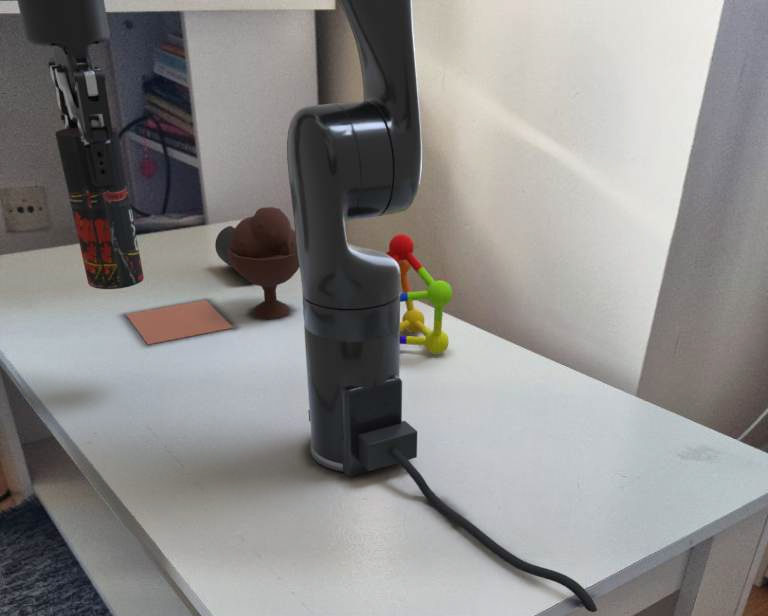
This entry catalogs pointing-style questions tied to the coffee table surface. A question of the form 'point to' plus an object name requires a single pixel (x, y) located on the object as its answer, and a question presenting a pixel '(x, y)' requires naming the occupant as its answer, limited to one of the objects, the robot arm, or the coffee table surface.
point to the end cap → (224, 243)
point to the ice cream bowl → (265, 256)
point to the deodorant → (101, 215)
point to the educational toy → (420, 298)
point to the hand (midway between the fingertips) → (96, 178)
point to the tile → (178, 322)
